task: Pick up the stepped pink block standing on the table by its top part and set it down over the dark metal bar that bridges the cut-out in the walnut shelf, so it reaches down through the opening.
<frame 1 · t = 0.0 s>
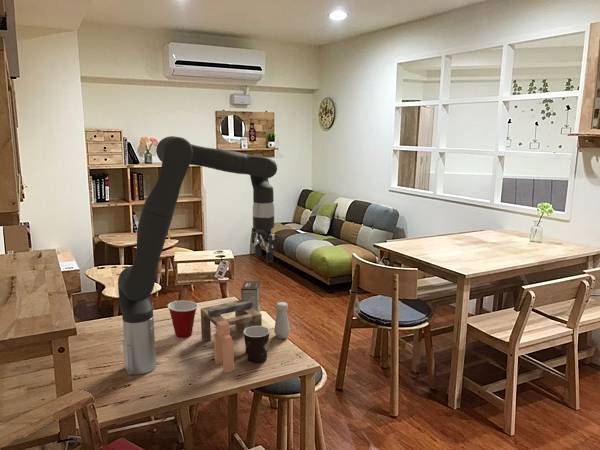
hand: (263, 259, 177), 29 cm above the table, tool pointing down, fingers open, 8 cm apart
coffee mug: (253, 361, 164), on the table
coffee box: (251, 324, 193), on the table
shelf: (231, 342, 177), on the table
plastic cup: (184, 335, 183), on the table
salt shaker: (282, 336, 182), on the table
stepped pink block: (224, 365, 161), on the table
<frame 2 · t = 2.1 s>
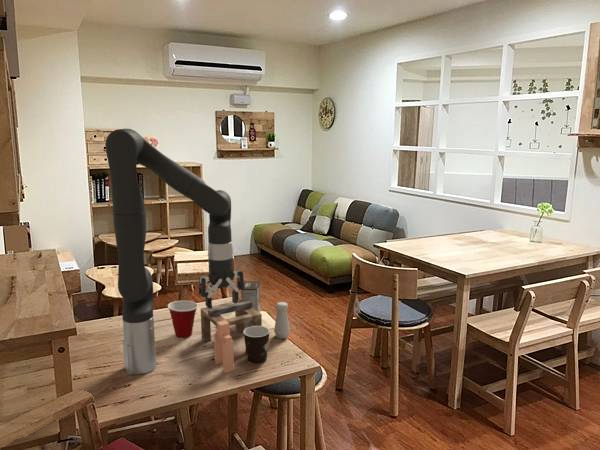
hand: (222, 305, 156), 21 cm above the table, tool pointing down, fingers open, 8 cm apart
nothing on the table moved.
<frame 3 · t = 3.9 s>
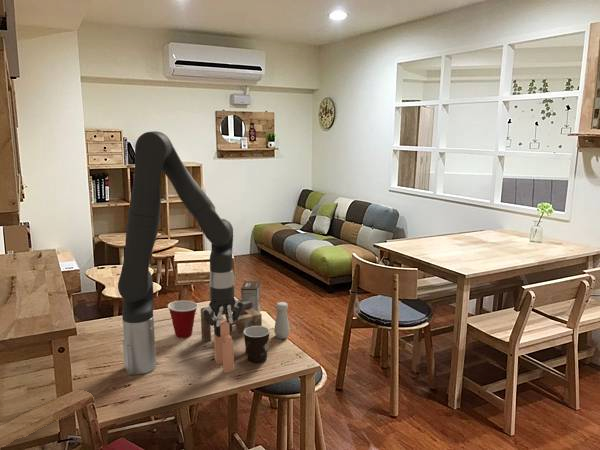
hand: (223, 334, 158), 11 cm above the table, tool pointing down, fingers closed on stepped pink block, 3 cm apart
stepped pink block: (224, 365, 161), on the table, touching gripper
everything else where it was.
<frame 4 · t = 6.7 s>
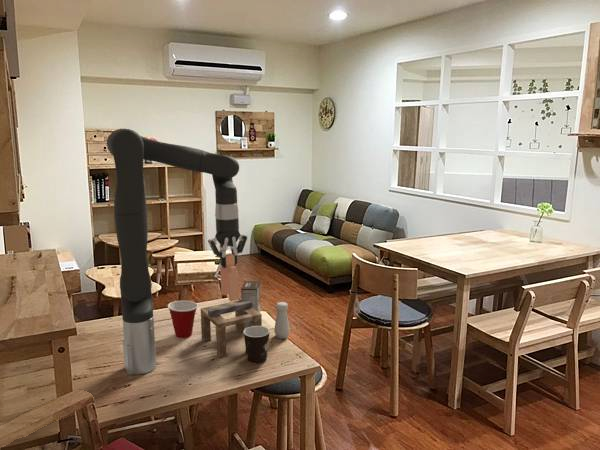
hand: (228, 266, 168), 29 cm above the table, tool pointing down, fingers closed on stepped pink block, 3 cm apart
stepped pink block: (230, 296, 170), point 19 cm above the table, touching gripper
everything else where it was.
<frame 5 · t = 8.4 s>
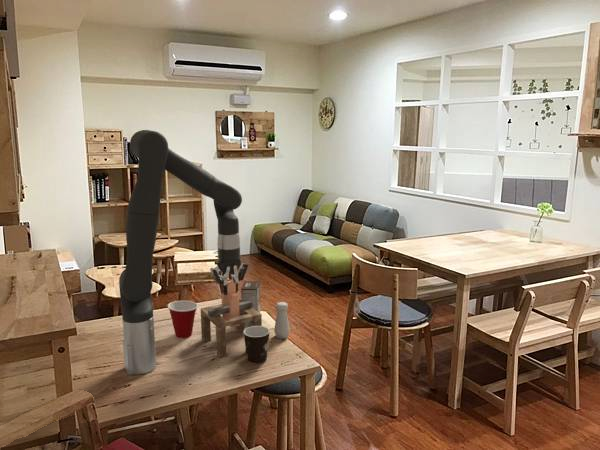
hand: (230, 293, 173), 19 cm above the table, tool pointing down, fingers closed on stepped pink block, 3 cm apart
stepped pink block: (230, 322, 175), point 8 cm above the table, touching gripper
everything else where it was.
when the fingers open (16 cm above the table, at t = 9.5 s): stepped pink block drops 1 cm, resting on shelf.
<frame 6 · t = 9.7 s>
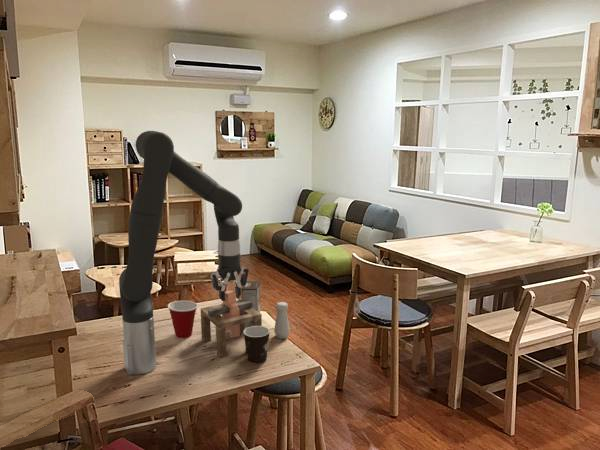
hand: (230, 298, 173), 17 cm above the table, tool pointing down, fingers open, 5 cm apart
stepped pink block: (231, 332, 176), point 4 cm above the table, touching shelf
everything else where it was.
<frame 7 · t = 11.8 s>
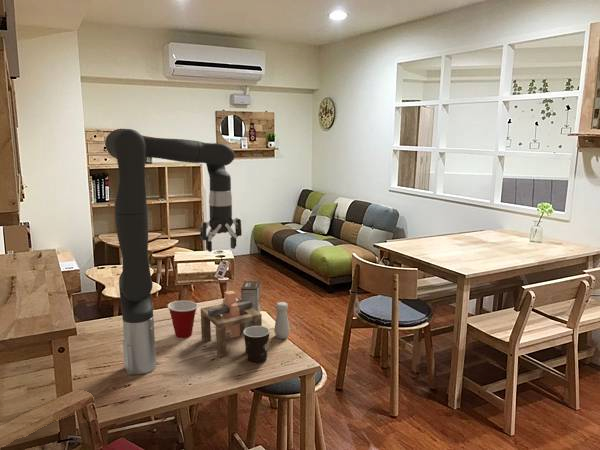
hand: (221, 249, 171), 34 cm above the table, tool pointing down, fingers open, 8 cm apart
nothing on the table moved.
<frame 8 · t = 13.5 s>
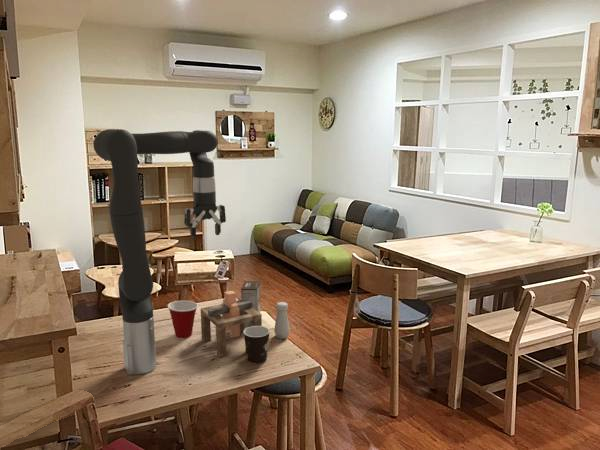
hand: (205, 236, 173), 38 cm above the table, tool pointing down, fingers open, 8 cm apart
nothing on the table moved.
at the end: stepped pink block 0.1 cm off-centre on the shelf, point 4.0 cm above the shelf's base; stepped pink block touching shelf; the gripper is holding nothing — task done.
